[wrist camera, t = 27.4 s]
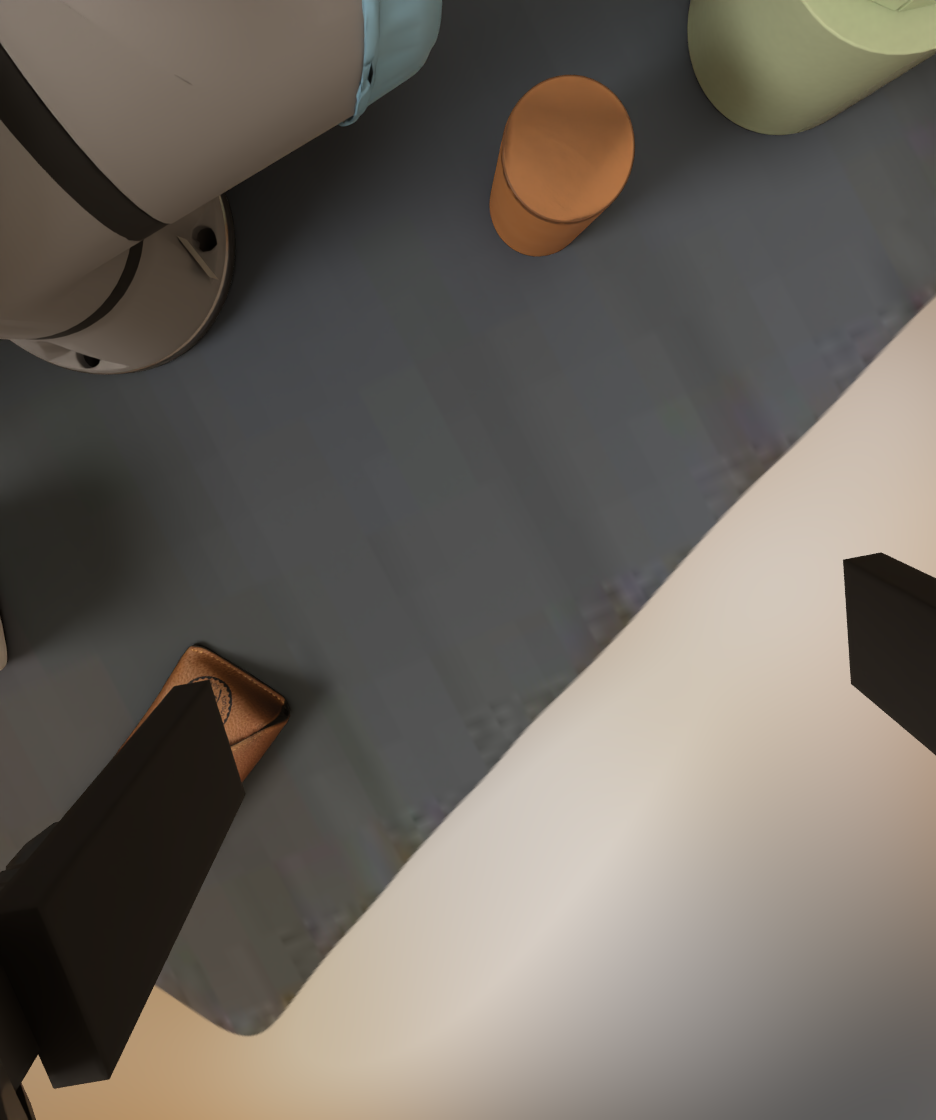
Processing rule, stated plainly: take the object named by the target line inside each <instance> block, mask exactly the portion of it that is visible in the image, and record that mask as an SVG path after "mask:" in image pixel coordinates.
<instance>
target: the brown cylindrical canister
mask: <svg viewBox="0 0 936 1120" xmlns="http://www.w3.org/2000/svg"><path fill="white" fill-rule="evenodd" d="M634 153H635V140H634V132H633V127H632V124H631V121H630V118H629V115H628V113H627V111H626V109H625V107H624V106H623V104H622V103H621V101H620V100H619V99H618V97H617V96H616V95H615V94H614V93H613V92H612V91H611V90H610V89H609V88H607V87H606V86H604V85H603V84H601V83H600V82H598V81H596V80H594V79H591V78H588V77H585V76H579V75H562V76H556V77H553V78H549V79H547V80H545V81H543V82H540V83H539V84H537V85H536V86H534V87H533V88H531V89H530V90H529V91H528V92H527V93H525V95H524V96H523V97H522V98H521V99H520V100H519V101H518V103H517V104H516V106H515V107H514V108H513V110H512V112H511V114H510V116H509V118H508V121H507V123H506V126H505V129H504V133H503V138H502V142H501V147H500V152H499V156H498V161H497V166H496V171H495V175H494V180H493V185H492V189H491V195H490V214H491V218H492V222H493V225H494V227H495V229H496V231H497V233H498V234H499V236H500V237H501V239H502V240H503V241H504V242H505V243H506V244H507V245H508V246H509V247H511V248H512V249H514V250H515V251H517V252H520V253H522V254H525V255H529V256H546V255H550V254H553V253H556V252H558V251H560V250H562V249H563V248H565V247H566V246H567V245H568V244H570V243H571V242H572V241H573V240H574V239H575V238H576V237H577V236H578V235H579V234H580V233H581V232H582V231H583V230H584V229H585V228H586V227H587V226H589V225H590V224H591V223H592V222H593V221H594V220H595V219H596V218H597V217H598V216H599V215H600V214H601V213H602V212H603V211H604V210H605V209H606V208H607V207H608V206H609V205H610V204H611V203H612V202H613V201H614V200H615V199H616V198H617V197H618V195H619V194H620V193H621V191H622V190H623V188H624V186H625V184H626V183H627V180H628V178H629V176H630V173H631V169H632V166H633V161H634Z"/></svg>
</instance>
